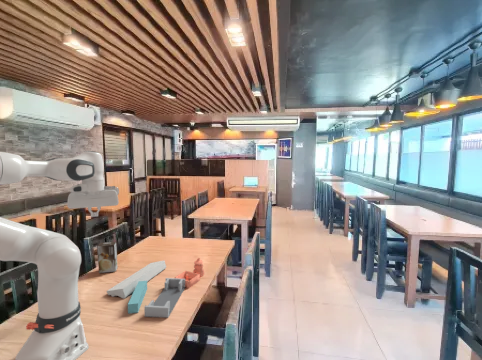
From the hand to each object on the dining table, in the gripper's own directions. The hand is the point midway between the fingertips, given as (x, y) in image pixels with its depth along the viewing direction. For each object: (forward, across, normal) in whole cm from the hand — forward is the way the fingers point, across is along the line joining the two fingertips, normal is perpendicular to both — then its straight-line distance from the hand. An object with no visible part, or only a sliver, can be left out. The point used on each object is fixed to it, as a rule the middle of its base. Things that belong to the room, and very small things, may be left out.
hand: (94, 216), depth 115 cm
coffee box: (+39, -4, -30) cm, 50 cm away
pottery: (+40, -45, +3) cm, 60 cm away
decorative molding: (+39, -16, -12) cm, 44 cm away
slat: (+39, -17, +12) cm, 44 cm away
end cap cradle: (+39, -28, +18) cm, 52 cm away
